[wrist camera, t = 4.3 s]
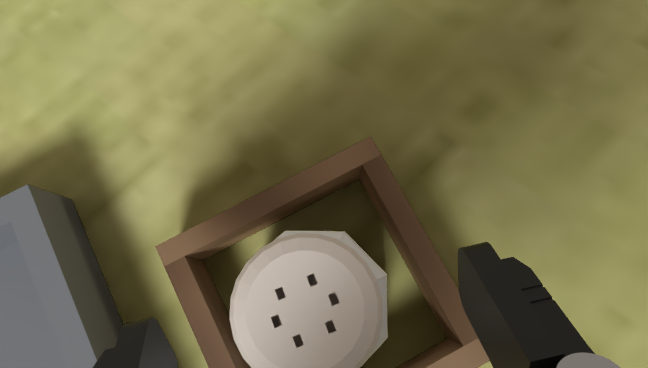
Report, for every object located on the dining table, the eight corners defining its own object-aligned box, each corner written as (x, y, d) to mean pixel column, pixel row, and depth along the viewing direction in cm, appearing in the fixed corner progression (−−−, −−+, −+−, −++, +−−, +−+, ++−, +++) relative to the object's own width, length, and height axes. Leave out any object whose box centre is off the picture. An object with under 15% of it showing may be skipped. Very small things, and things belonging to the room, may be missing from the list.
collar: (366, 154, 21) (370, 136, 18) (475, 347, 19) (496, 356, 16) (177, 251, 20) (155, 246, 17) (272, 461, 18) (262, 488, 16)
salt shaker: (359, 211, 20) (385, 121, 9) (412, 338, 19) (512, 403, 8) (236, 260, 20) (116, 225, 9) (282, 392, 19) (209, 533, 8)
